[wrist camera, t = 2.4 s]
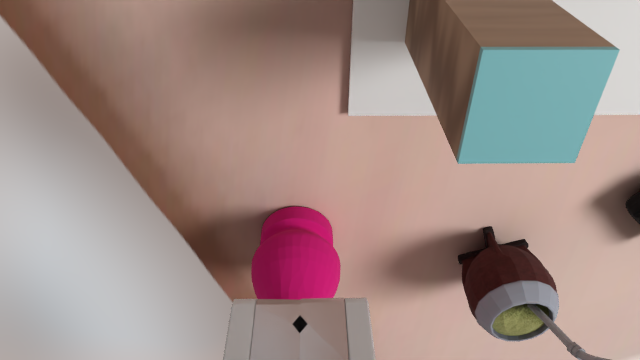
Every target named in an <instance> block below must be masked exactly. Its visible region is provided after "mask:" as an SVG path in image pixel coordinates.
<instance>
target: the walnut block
mask: <svg viewBox="0 0 640 360" xmlns="http://www.w3.org/2000/svg"><path fill="white" fill-rule="evenodd" d="M405 44H406V46H407V49H408V51H409V53H410V55H411V58H412V60H413V62H414V65H415V67H416V69H417V71H418V74H419V76H420V78H421V80H422V83H423V85H424V87H425V90H426V92H427V94H428V96H429V99H430V101H431V103H432V105H433V108H434V110H435V112H436V115H437V117H438V119H439V121H440V124H441V126H442V128H443V130H444V133H445V135H446V137H447V140H448V142H449V144H450V146H451V149H452V151H453V153H454V156H455V158H456V160H457V162H458V164H470V163H575V161H576V158H577V156H578V153H579V151H580V148H581V146H582V143H583V141H584V138H585V136H586V133H587V131H588V128H589V126H590V123H591V121H592V118H593V116H594V113H595V111H596V108H597V106H598V103H599V101H600V98H601V96H602V93H603V91H604V88H605V86H606V83H607V81H608V78H609V76H610V73H611V71H612V68H613V66H614V63H615V61H616V58H617V56H618V53H619V51H620V49H618V48H617V47H615V46H614V45H613V44H611V43H610V42H609V41H607V40H606V39H604V38H603V37H602V36H600V35H599V34H597V33H596V32H595V31H593V30H592V29H591V28H589V27H588V26H586V25H585V24H584V23H582V22H581V21H580V20H578V19H577V18H575V17H574V16H573V15H571V14H570V13H569V12H567V11H566V10H564V9H563V8H562V7H560V6H559V5H558V4H556V3H555V2H553V1H552V0H410V1H409V9H408V18H407V27H406V35H405Z"/></svg>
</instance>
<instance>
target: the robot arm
mask: <svg viewBox="0 0 640 360" xmlns="http://www.w3.org/2000/svg"><path fill="white" fill-rule="evenodd" d="M223 360H376V359H375V352H374V344H373V336H372V328H371V320H370V312H369V304H368V301H367V299H366V298H345V299H344V298H311V299H301V300H289V299H234V301H233V304H232V307H231V314H230V320H229V327H228V332H227V338H226V344H225V350H224V357H223Z"/></svg>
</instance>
